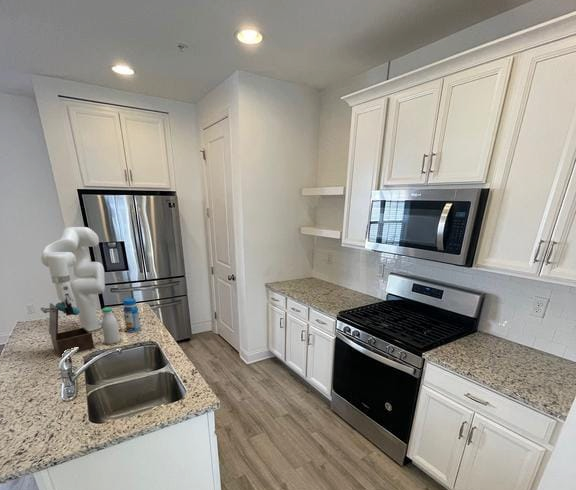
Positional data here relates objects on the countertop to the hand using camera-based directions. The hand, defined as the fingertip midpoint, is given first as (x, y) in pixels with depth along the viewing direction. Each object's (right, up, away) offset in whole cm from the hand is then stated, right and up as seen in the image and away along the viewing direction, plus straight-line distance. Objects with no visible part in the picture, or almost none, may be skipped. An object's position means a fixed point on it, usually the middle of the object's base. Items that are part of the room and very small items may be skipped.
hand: (68, 313), depth 161 cm
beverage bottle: (+17, -10, +34) cm, 39 cm away
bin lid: (-5, -4, -4) cm, 7 cm away
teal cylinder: (0, 0, -1) cm, 1 cm away
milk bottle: (+14, -16, +17) cm, 27 cm away
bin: (-1, -19, +6) cm, 20 cm away
